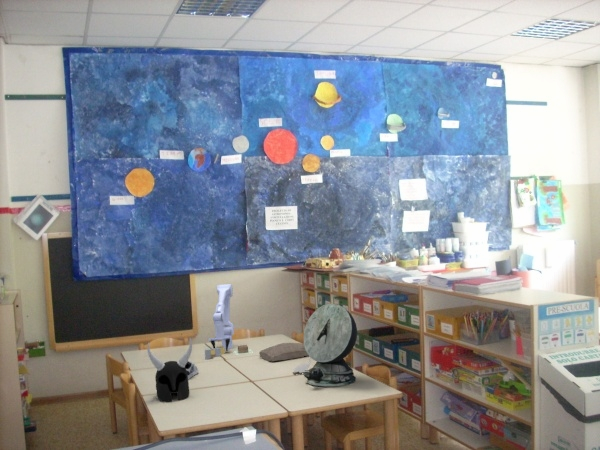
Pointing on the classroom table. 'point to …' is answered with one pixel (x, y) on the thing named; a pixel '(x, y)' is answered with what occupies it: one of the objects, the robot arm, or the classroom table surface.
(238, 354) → the build plate
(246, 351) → the base block
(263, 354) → the stone tablet
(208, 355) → the tile
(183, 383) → the helmet
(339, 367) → the sundial
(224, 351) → the brick
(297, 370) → the figurine
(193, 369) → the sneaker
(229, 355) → the classroom table surface
